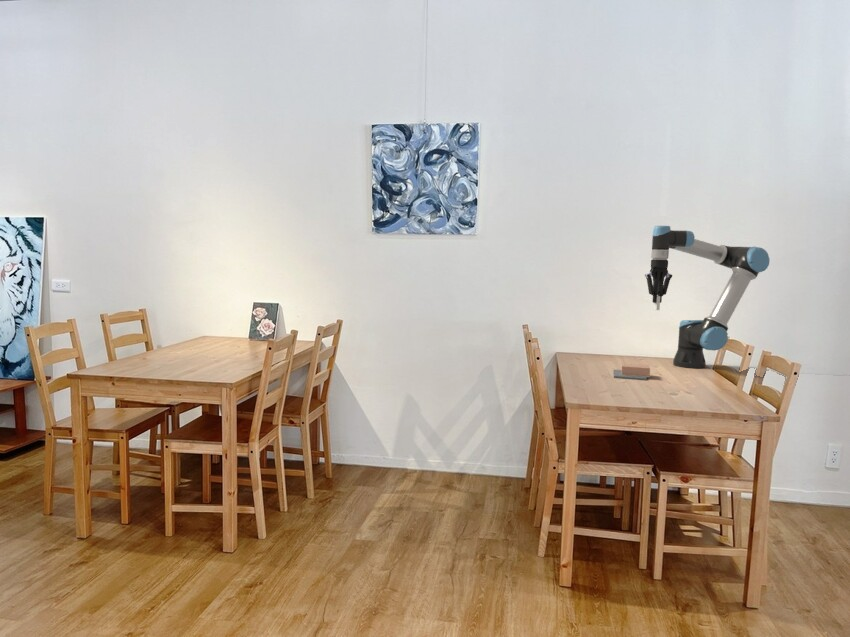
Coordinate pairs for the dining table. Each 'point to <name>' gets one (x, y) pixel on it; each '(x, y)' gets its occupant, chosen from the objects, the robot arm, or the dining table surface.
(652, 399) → the dining table surface
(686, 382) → the dining table surface
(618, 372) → the slate mat
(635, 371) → the terracotta block
